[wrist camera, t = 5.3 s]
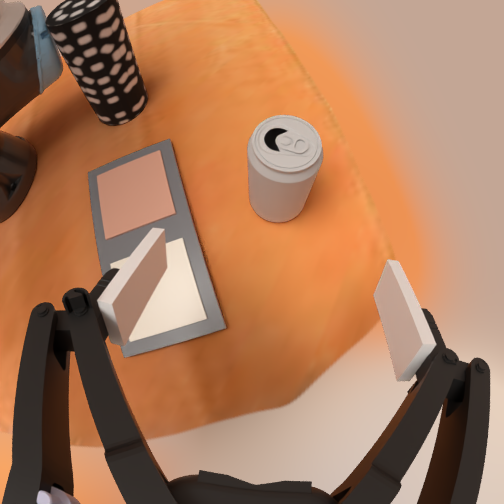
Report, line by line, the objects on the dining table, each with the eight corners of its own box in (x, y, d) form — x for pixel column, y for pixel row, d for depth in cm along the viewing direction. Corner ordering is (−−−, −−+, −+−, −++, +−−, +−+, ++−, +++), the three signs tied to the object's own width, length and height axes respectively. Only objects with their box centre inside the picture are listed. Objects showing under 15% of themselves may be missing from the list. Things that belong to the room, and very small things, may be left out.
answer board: (91, 176, 35) (86, 171, 34) (172, 143, 36) (168, 136, 34) (128, 356, 30) (122, 358, 29) (227, 327, 31) (225, 328, 29)
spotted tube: (144, 78, 39) (115, -22, 19) (151, 113, 38) (114, 3, 18) (96, 96, 38) (51, 5, 18) (98, 133, 36) (39, 37, 17)
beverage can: (260, 167, 35) (262, 102, 23) (311, 184, 34) (333, 125, 23) (241, 214, 34) (234, 160, 22) (295, 232, 33) (315, 186, 21)
